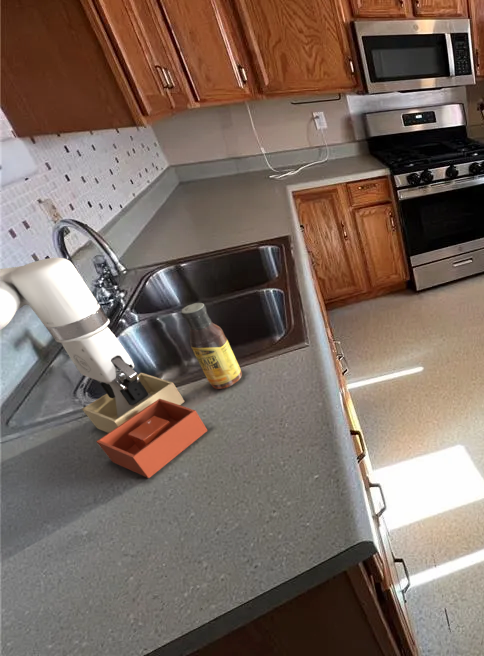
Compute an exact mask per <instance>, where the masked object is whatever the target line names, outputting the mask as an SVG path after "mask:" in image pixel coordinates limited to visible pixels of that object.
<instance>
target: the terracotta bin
mask: <svg viewBox="0 0 484 656" xmlns="http://www.w3.org/2000/svg"><path fill="white" fill-rule="evenodd" d="M153 416H156V417H159V418H161V419H164V420H167V421H169V422H170V424H171V425H172V427H171V428H170V429H168V430H167V431H166V432H164V433H163V434H162V435H160V436H159V437H158V438H156V439H155V440H154V441H152V442H151V443H150V444H148V445H147V446H146V447H144V448H143V449H142V450H139V448H138V447H137V446H136V444H135V443H134V442H133V440H132V439H131V438H130V436H129V435H128V434H129V433H130V432H132V431H133V430H134V429H136V428H137V427H139V426H140V425H142V424H143V423H144V422H146V421H147V420H149V419H150V418H151V417H153ZM207 432H208V429H207V427H206V425H205V424H204V422H203V421H202V419H201V417H200V415H199V414H198V412H197V410H196V409H192V408H190V407H186V406H183V405H182V404H181V405H178V404H175V403H172V402H169V401H166V400H163V399H158V400H157V401H155V402H154V403H152V404H151V405H149V406H148V407H146V408H145V409H143V410H142V411H140V412H139V413H137V414H136V415H135V416H133V417H132V418H130V419H129V420H127V421H126V422H124V423H123V424H121V425H120V426H118V427H117V428H115V429H114V430H112V431H111V432H109V433H107V434H104V435H103V436H102V437H101V438H99V439H97V440H96V442H95V443H96V444H97V445H98V446H99V447H100V449H101V450H102V451H103V452H104V453H105V455H106V456H107V457H108V458H109V460H110V461H111V462H112V463H114V464H116V465H118V466H120V467H122V468H125V469H127V470H130V471H132V472H134V473H136V474H138V475H141V476H143V477H145V478H147V479H150V478H151V477H153V476H154V475H155V474H156V473H158V472H159V471H160V470H161V469H162V468H164V467H165V466H166V465H167V464H168V463H170V462H171V461H172V460H174V458H176V457H177V456H178V455H180V454H181V453H182V452H183V451H185V450H186V449H187V448H188V447H190V446H191V445H192V444H194V442H196V441H197V440H198V439H199V438H200V437H202V436H203V435H204V434H205V433H207Z"/></svg>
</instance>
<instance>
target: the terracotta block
mask: <svg viewBox="0 0 484 656" xmlns="http://www.w3.org/2000/svg"><path fill="white" fill-rule="evenodd" d="M171 427H172V425H171V424H170V422H169V421H167V420H164V419H161V418H159V417H156V416H153V417H151V418H150V419H149V420H147V421H146V422H144V423H143V424H142V425H140V426H139V427H137V428H136V429H134V430H133V431H132V432H130V433H129V434H128V435H129V436H130V438H131V439H132V440H133V442H134V443H135V444H136V446H137V447H138V448H139V450H142V449H143V448H144V447H146V446H147V445H148V444H150V443H151V442H152V441H154V440H155V439H156V438H158V437H159V436H160V435H162V434H163V433H164V432H166V431H167V430H168V429H170V428H171Z"/></svg>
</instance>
